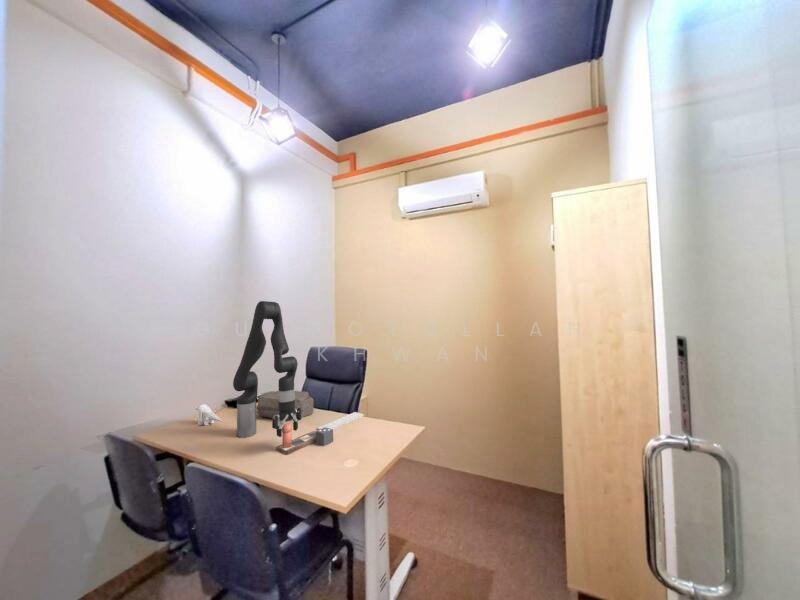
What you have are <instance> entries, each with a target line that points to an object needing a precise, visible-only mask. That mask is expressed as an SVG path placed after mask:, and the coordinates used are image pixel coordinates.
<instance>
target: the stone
mask: <svg viewBox="0 0 800 600" xmlns="http://www.w3.org/2000/svg"><path fill="white" fill-rule="evenodd" d="M294 391H295V409H296V407H298V408H301V418H303V417H308V416H310V415H312V414H313V413H314V398H313V397H311V396H310V394H309V391H299V390H294ZM278 393H279V390H277V391H273V390H272V391H267V392H264V393H261V394H260V395H259V396H258V399H257V404H256V413H257V414H258V415H259V417H263V418H269V419H272V418H273V415H278V414H279V407H278ZM294 415H295V417H296V412H295V414H294ZM290 421H293V420H292V419H291V420H290Z"/></svg>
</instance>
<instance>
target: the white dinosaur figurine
mask: <svg viewBox="0 0 800 600" xmlns="http://www.w3.org/2000/svg"><path fill="white" fill-rule="evenodd" d="M193 409H194V410H196V411H198V417H197V425H198V426H203V425H204V426H206V427H208V426H209V425H210V424H214V422H222V423H224V421H223V420H222V419H221V417H219V416H218V415H217V414H216V413H214V412H213V411H212V409H211V408H210V406H208V404H205V403H203V404H201V405H199V406H197V407H193Z"/></svg>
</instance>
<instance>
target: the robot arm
mask: <svg viewBox="0 0 800 600" xmlns="http://www.w3.org/2000/svg"><path fill="white" fill-rule="evenodd" d="M264 320H272V322H273V329H272V332H271V335H270V344H271V347H272V350H273V351H272V352H273V368H274V371H275V372H276V373H278V374H283V373H286V374H285V375H284V376H282V377H280V378H279V379H278V391H279V393H278V407H279V414H278V415H273V418H271V419H272V423H271V424H272V425H271V428H272V429H275V430H276V436H277V437H278V438H281V437H282V427H283V425H285V424H286V422H289V421H293V422H292V429H293V431H298V428H299V421H301V420H302V417H301V408H298V407H296V409H295V391H296V390H295V377H296V373H297V371H298V370H297V369H298V365H299V364H298V363H299V362H298V360H297V358H296V357H295V356H286V357H282V356H283V355H286V354H288V352H289V350H290V347H289V345H288V342H287V339H286V335H285V331H284V322H283V315H282V309H281V306H280V305H279V303H278V302H276V301H266V300H259V301H258V302H257V304H256V306H255V309H254V314H253V319H252V322H251V323H252V324H251V328H250V331H249V334H248V337H247V341H246V344H245V347H244V351H243V354H242V356H241V360H240V362H239V365H238V367H237V370H236V372H235V375H234V377H233V381H232V386H233V390H235V391H236V392H243V393H242V394H241V395H239V396H238V397H237V398H236V435H237V437H238V438H247V437H252V436H254V435H256V434H257V396H258V387H259V386H258V385H259V380H258V378H259V377H258V375H257V373H256V371H252V367H254V365H255V364H256V363H257V362H258V361H259V360H260V359H261V357H262V356H263V354H264V351H265V348H266V346H267V340H266V335H265V334H264V330H263V324H264ZM295 412H296V417H295V415H294V414H295ZM291 419H292V420H291Z"/></svg>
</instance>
